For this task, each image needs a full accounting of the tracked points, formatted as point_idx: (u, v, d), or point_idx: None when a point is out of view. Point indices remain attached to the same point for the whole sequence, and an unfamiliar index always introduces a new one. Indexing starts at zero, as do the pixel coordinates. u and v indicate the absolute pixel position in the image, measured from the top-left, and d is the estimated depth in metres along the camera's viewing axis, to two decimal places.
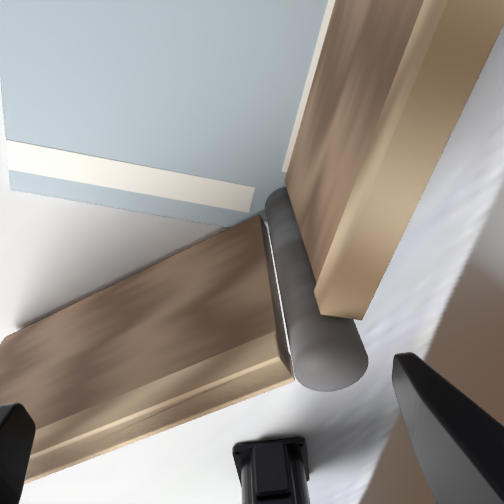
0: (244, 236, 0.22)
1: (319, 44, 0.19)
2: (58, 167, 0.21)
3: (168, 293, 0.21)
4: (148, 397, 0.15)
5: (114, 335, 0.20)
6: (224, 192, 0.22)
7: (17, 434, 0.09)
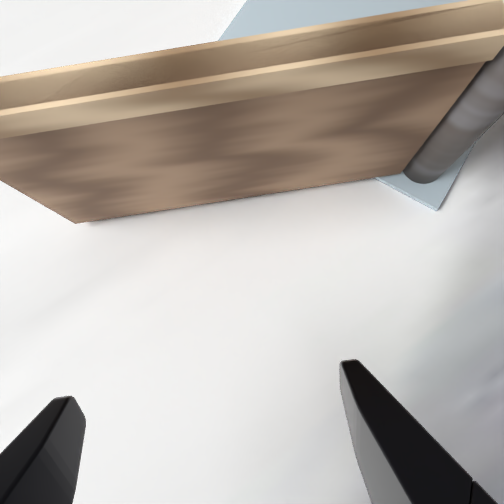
0: None
1: None
2: None
3: None
4: None
5: None
6: None
7: (71, 427, 0.09)
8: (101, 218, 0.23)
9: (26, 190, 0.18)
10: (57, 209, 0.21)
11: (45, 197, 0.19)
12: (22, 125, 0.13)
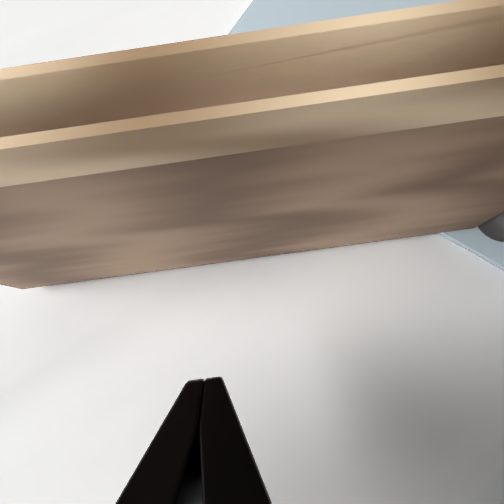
0: None
1: None
2: None
3: None
4: None
5: None
6: None
7: None
8: (58, 283, 0.17)
9: None
10: None
11: None
12: None
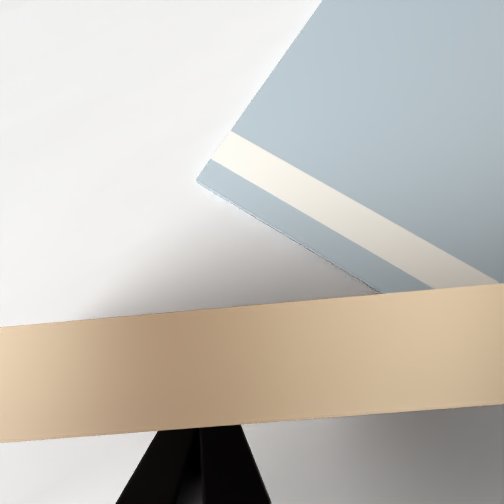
0: None
1: None
2: (264, 175, 0.18)
3: None
4: None
5: None
6: (454, 274, 0.16)
7: None
8: None
9: None
10: None
11: None
12: None
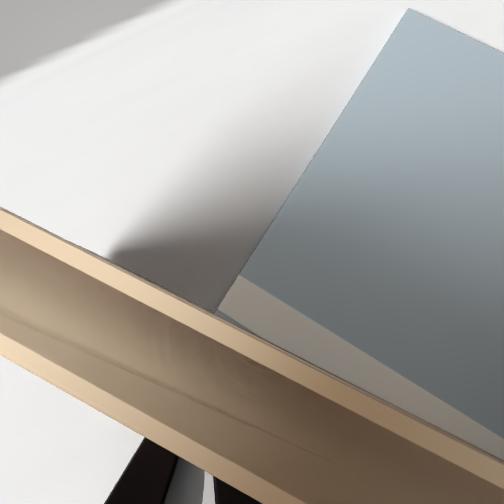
0: None
1: None
2: (279, 330, 0.15)
3: None
4: None
5: None
6: (498, 456, 0.14)
7: None
8: None
9: None
10: None
11: None
12: None
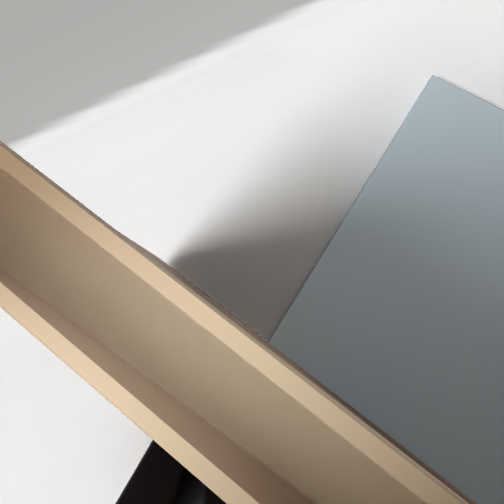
0: None
1: None
2: None
3: None
4: None
5: None
6: None
7: None
8: None
9: None
10: None
11: None
12: None
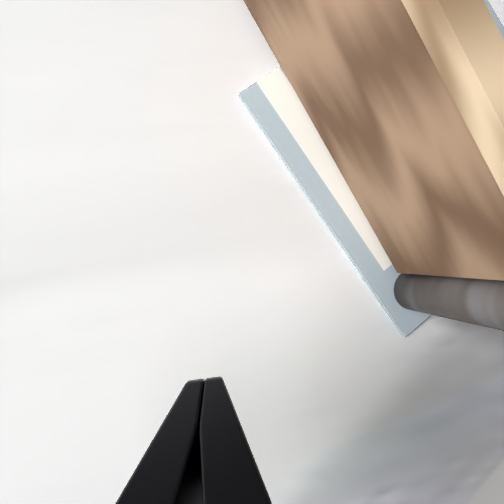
0: None
1: None
2: (290, 114, 0.23)
3: None
4: None
5: None
6: None
7: None
8: None
9: None
10: None
11: None
12: None
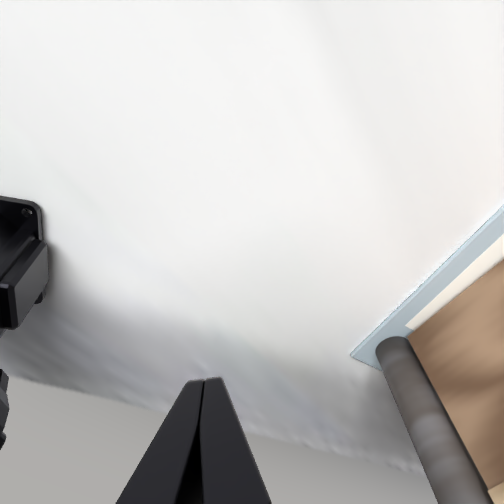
0: None
1: None
2: None
3: None
4: None
5: None
6: (433, 315, 0.26)
7: None
8: None
9: None
10: None
11: None
12: None
